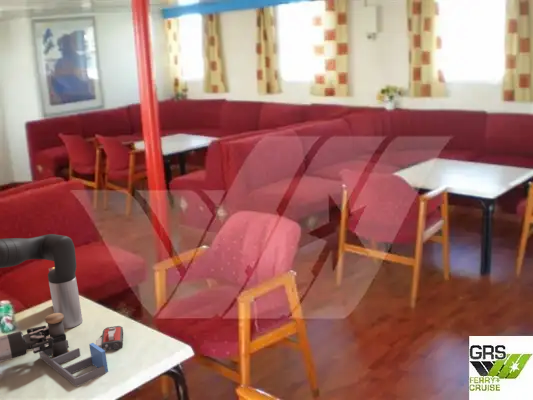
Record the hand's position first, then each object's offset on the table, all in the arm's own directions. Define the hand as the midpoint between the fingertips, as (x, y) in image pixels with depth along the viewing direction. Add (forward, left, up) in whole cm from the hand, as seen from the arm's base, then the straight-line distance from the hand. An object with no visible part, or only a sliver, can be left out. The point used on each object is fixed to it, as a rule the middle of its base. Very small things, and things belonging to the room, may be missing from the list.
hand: (63, 332), depth 203 cm
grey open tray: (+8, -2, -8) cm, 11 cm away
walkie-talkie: (+6, +12, -9) cm, 16 cm away
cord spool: (-1, -2, -8) cm, 8 cm away
